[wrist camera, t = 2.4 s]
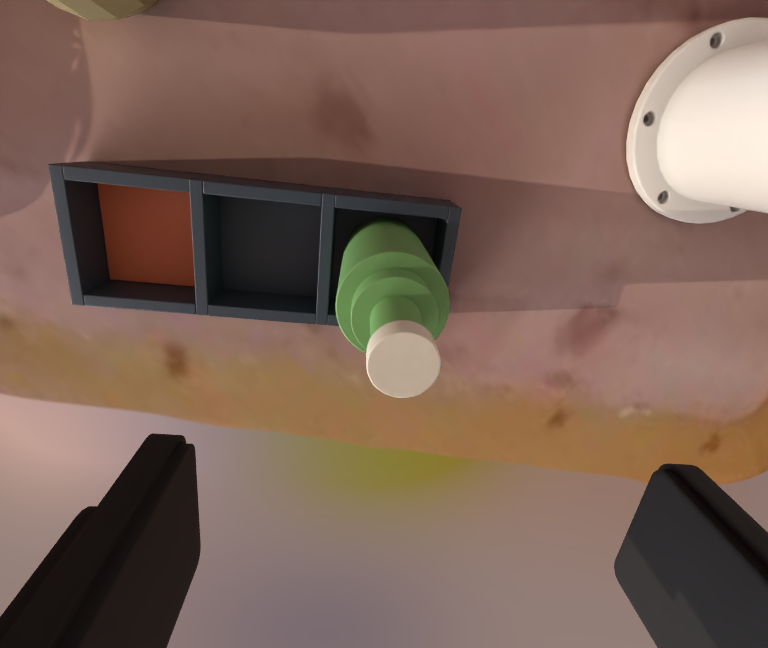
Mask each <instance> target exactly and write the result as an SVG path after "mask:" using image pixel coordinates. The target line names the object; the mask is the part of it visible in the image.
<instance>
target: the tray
mask: <svg viewBox="0 0 768 648" xmlns="http://www.w3.org/2000/svg"><path fill="white" fill-rule="evenodd" d="M48 168H49V174H50V179H51V185H52V191H53V197H54V203H55V209H56V214H57V220H58V226H59V232H60V238H61V244H62V249H63V255H64V261H65V267H66V273H67V279H68V285H69V290H70V296H71V302H72V305H83V306H84V305H86V306H98V307H110V308H123V309H135V310H148V311H160V312H173V313H185V314H197V315H209V316H219V317H232V318H244V319H257V320H269V321H282V322H294V323H307V324H315V323H316V324H320V325H333V326H339V324H338V321H337V317H336V310H335V303H336V296H337V289H338V283H339V277H340V271H341V265H342V259H343V252H344V247H345V243H346V241H347V238H348V237H349V235H350V233H351V232H352V231H353V230H354V228H356V227H357V226H358V225H359V224H360V223H362V222H364V221H365V220H368V219H370V218H374V217H379V216H388V217H393V218H397V219H399V220H401V221H403V222H405V223H406V224H408V225H409V226H410V227H411V228H412V229H413V230H414V231H415V233H416V234H417V236H418V238H419V239H420V241H421V243H422V244H423V246H424V247H425V249H426V251H427V252H428V254H429V256H430V257H431V259H432V261H433V262H434V264H435V266H436V267H437V269H438V271H439V272H440V274H441V276H442V277H443V279H444V281H445V283H446V286H447V289H448V285H449V279H450V273H451V268H452V262H453V256H454V250H455V244H456V238H457V232H458V227H459V221H460V215H461V208H460V207H459V206H457V205H456V204H454V203H453V202H451V201H450V200H443V199H434V198H424V197H415V196H406V195H396V194H387V193H378V192H368V191H359V190H350V189H340V188H331V187H322V186H312V185H303V184H294V183H284V182H275V181H265V180H256V179H247V178H237V177H228V176H219V175H209V174H200V173H191V172H181V171H172V170H163V169H153V168H144V167H135V166H125V165H116V164H107V163H97V162H88V161H86V162H72V163H57V164H48Z"/></svg>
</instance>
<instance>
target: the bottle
mask: <svg viewBox="0 0 768 648" xmlns="http://www.w3.org/2000/svg"><path fill="white" fill-rule="evenodd" d="M449 309H450V298H449V292H448V289H447V286H446V283H445V281H444V279H443V277H442V276H441V274H440V272H439V271H438V269H437V267H436V266H435V264H434V262H433V261H432V259H431V257H430V256H429V254H428V252H427V251H426V249H425V247H424V246H423V244H422V243H421V241H420V239H419V238H418V236H417V234H416V233H415V231H414V230H413V229H412V228H411V227H410V226H409V225H408V224H406V223H405V222H403V221H401V220H399V219H397V218H393V217H388V216H379V217H374V218H370V219H368V220H365V221H364V222H362V223H360V224H359V225H358V226H357V227H356V228H354V230H353V231H352V232H351V233H350V235H349V237H348V238H347V241H346V243H345V247H344V252H343V259H342V265H341V271H340V277H339V283H338V289H337V296H336V303H335V310H336V317H337V321H338V324H339V326H340V328H341V330H342V332H343V334H344V335H345V337H346V338H347V339H348V340H349V341H350V342H351V343H352V344H353V345H354V346H355V347H356V348H358V349H359V350H361V351H363V352H364V353H366V361H367V373H368V376H369V378H370V380H371V382H372V383H373V385H374V386H375V387H376V388H377V389H378V390H380V391H381V392H383V393H385V394H387V395H389V396H393V397H398V398H407V397H412V396H416V395H419V394H421V393H423V392H424V391H426V390H427V389H428V388H430V387H431V386H432V385H433V383H434V382H435V381H436V379H437V377H438V375H439V373H440V369H441V357H440V354H439V351H438V348H437V345H436V343H435V340H436V339H437V337H438V336H439V335H440V333H441V332H442V330H443V328H444V326H445V324H446V322H447V319H448V315H449Z"/></svg>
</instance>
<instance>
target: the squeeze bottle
mask: <svg viewBox="0 0 768 648" xmlns="http://www.w3.org/2000/svg"><path fill="white" fill-rule="evenodd" d="M46 1H48V2H49V3H51V4H53V5H54V6H56V7H57V8H60V9H62V10H65V11H67V12H70V13H72V14H75V15H77V16H79V17H82V18H84V19H87V20H119V19H122V18H126V17H129V16H132V15H135V14H138V13H141V12H143V11H144V10H146V9H148V8H149V7H151V6H153V5H155V4H156V3H157V2H158V0H46Z"/></svg>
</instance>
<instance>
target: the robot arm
mask: <svg viewBox="0 0 768 648" xmlns="http://www.w3.org/2000/svg"><path fill="white" fill-rule="evenodd" d="M644 117H645V121H644V122H643V120H644ZM626 153H627V165H628V169H629V174H630V178H631V180H632V182H633V185H634V187H635V189H636V191H637V193H638V194H639V195H640V197H641V198H642V199H643V201H644V202H645V203H646V204H647V205H648V206H650V207H651V208H652V209H653V210H655V211H656V212H657V213H660V214H662V215H664V216H666V217H668V218H671V219H675V220H678V221H682V222H688V223H698V224H701V223H712V222H718V221H721V220H725V219H729V218H732V217H734V216H737V215H739V214H741V213H743V212H745V211H747V210H752V211H758V212H764V213H768V18H756V17H747V18H742V19H737V20H732V21H728V22H725V23H722V24H719V25H716V26H713V27H711V28H708V29H706V30H705V31H703V32H701V33H699V34H697V35H695V36H693V37H691V38H690V39H689V40H687V41H686V42H685V43H683V44H682V45H681V46H679V47H678V48H677V49H675V50H674V51H673V52H672V53H671V54H670V55H669V56H668V57H667V58H666V59H665V60H664V61H663V62H662V63H661V64H660V65H659V67H658V68H657V69H656V71H655V72H654V74H653V75H652V76H651V78H650V79H649V81H648V82H647V83H646V85H645V87H644V89H643V91H642V93H641V95H640V97H639V99H638V101H637V102H636V105H635V108H634V111H633V114H632V117H631V120H630V123H629V129H628V135H627V141H626ZM658 196H659V197H658ZM199 556H200V529H199V510H198V492H197V475H196V457H195V447H194V445H193V444H186V440H185V438H184V436H182V435H167V434H150V435H149V436H148V437H147V438H146V439H145V441H144V442H143V443H142V445H141V446H140V448H139V449H138V451H137V452H136V453H135V455H134V456H133V458H132V459H131V460H130V462H129V463H128V465H127V466H126V467H125V469H124V470H123V471H122V473H121V474H120V476H119V477H118V478H117V480H116V481H115V483H114V484H113V485H112V487H111V488H110V490H109V491H108V492H107V494H106V495H105V497H104V498H103V499H102V501H101V502H100V503H99V505H98V506H97V507H96V506H95V507H94V506H93V507H92V506H89V507H87V508H85V509H84V510H82V511H81V512H80V513H79V514H78V515H77V517H76V518H75V519H74V520H73V521H72V523H71V524H70V525H69V527H68V528H67V529H66V531H65V532H64V533H63V535H62V536H61V537H60V539H59V540H58V541H57V543H56V544H55V545H54V547H53V548H52V549H51V551H50V552H49V553H48V555H47V556H46V557H45V558H44V560H43V561H42V563H41V564H40V565H39V566H38V568H37V569H36V571H35V572H34V573H33V574H32V576H31V577H30V579H29V580H28V581H27V582H26V584H25V585H24V587H23V588H22V589H21V590H20V592H19V593H18V594H17V596H16V597H15V598H14V600H13V601H12V602H11V604H10V605H9V606H8V608H7V609H6V610H5V611H4V613H3V614H2V615H1V617H0V648H166V647H167V645H168V642H169V639H170V636H171V634H172V631H173V629H174V626H175V624H176V621H177V618H178V616H179V613H180V610H181V608H182V605H183V602H184V599H185V597H186V595H187V592H188V589H189V586H190V584H191V581H192V579H193V576H194V573H195V571H196V568H197V565H198V561H199ZM614 569H615V575H616V578H617V580H618V581H619V584H620V585H621V587H622V589H623V590H624V592H625V594H626V595H627V597H628V599H629V600H630V602H631V604H632V605H633V607H634V609H635V610H636V612H637V614H638V615H639V617H640V619H641V620H642V622H643V624H644V625H645V627H646V629H647V630H648V632H649V634H650V636H651V637H652V639H653V640H654V642H655V644H656V645H657V647H658V648H768V532H767V531H765V530H764V529H763V528H762V527H761V526H760V525H759V524H758V523H757V522H756V521H755V520H754V519H753V518H752V517H751V516H750V515H749V514H747V513H746V512H745V511H744V510H743V509H742V508H741V507H740V506H739V505H738V504H737V503H736V502H735V501H734V500H733V499H732V498H731V497H730V496H729V495H727V494H726V493H725V492H724V491H723V490H722V489H721V488H720V487H719V486H718V485H717V484H716V483H715V482H714V481H713V480H712V479H711V478H710V477H708V476H707V475H706V474H705V473H704V472H703V471H702V470H701V469H699V468H698V467H696V466H693V465H682V464H663V465H662V466H661V467H660V468H659V469H658V471H655V472H654V473H653V474H652V476H651V478H650V481H649V483H648V485H647V488H646V490H645V492H644V495H643V497H642V499H641V502H640V504H639V506H638V509H637V511H636V513H635V515H634V518H633V520H632V522H631V525H630V527H629V529H628V532H627V534H626V536H625V539H624V541H623V543H622V546H621V548H620V550H619V553H618V555H617V557H616V560H615V563H614Z"/></svg>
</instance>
